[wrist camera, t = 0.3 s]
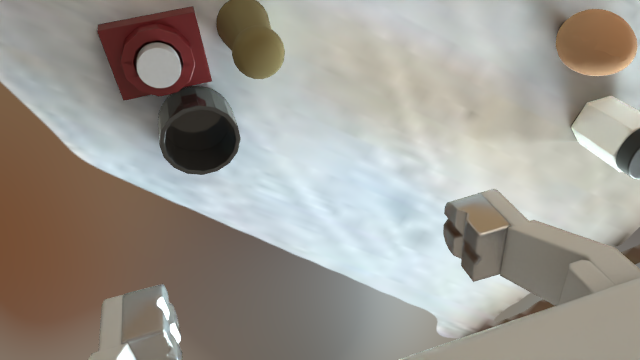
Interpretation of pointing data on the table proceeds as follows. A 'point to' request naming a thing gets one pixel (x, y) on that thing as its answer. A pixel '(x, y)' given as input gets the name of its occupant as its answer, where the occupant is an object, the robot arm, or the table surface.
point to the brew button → (158, 65)
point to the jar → (611, 133)
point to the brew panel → (163, 27)
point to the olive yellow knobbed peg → (250, 38)
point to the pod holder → (197, 130)
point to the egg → (596, 43)
